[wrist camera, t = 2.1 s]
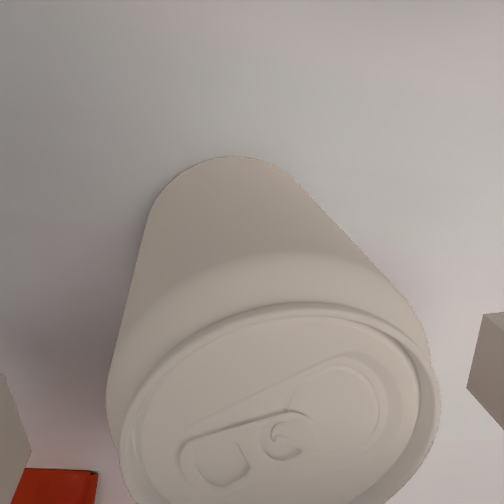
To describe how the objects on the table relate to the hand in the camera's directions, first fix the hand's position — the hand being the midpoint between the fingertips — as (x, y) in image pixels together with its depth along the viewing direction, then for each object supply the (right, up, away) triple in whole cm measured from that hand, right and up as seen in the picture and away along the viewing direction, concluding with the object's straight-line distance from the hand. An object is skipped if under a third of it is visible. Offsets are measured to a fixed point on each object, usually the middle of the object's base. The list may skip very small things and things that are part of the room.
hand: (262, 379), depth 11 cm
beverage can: (-1, +4, +8) cm, 10 cm away
